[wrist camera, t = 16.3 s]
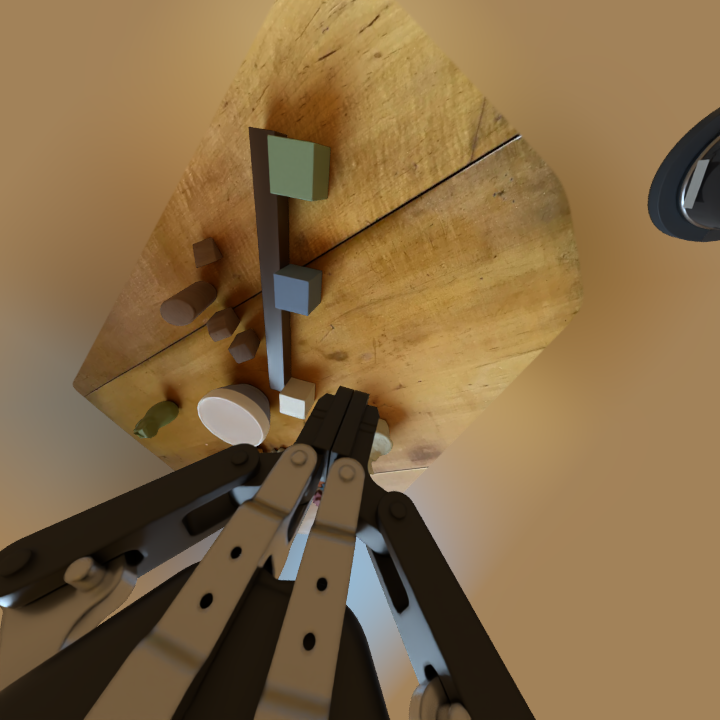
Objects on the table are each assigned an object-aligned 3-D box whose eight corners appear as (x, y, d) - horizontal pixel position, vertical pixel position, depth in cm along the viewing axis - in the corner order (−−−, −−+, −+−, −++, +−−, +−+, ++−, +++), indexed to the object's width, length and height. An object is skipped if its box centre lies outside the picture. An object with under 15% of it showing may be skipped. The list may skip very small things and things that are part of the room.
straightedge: (287, 134, 30) (274, 131, 27) (291, 382, 52) (284, 392, 50) (263, 130, 30) (248, 126, 28) (277, 378, 53) (269, 388, 50)
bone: (319, 432, 59) (304, 464, 53) (339, 393, 50) (324, 427, 44) (371, 457, 60) (363, 492, 54) (401, 423, 51) (395, 460, 45)
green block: (330, 147, 30) (314, 142, 26) (327, 198, 33) (312, 201, 29) (289, 140, 30) (267, 134, 26) (290, 191, 33) (269, 193, 29)
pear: (160, 395, 66) (122, 424, 58) (177, 398, 65) (141, 428, 57) (170, 411, 69) (135, 441, 61) (186, 414, 68) (153, 445, 60)
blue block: (322, 270, 38) (308, 281, 34) (320, 302, 41) (307, 316, 37) (290, 263, 38) (273, 273, 34) (290, 295, 41) (275, 307, 37)
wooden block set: (271, 335, 50) (262, 362, 41) (228, 351, 50) (211, 381, 41) (215, 236, 40) (188, 243, 32) (163, 255, 41) (122, 268, 32)
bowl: (275, 430, 63) (257, 457, 57) (219, 403, 62) (195, 427, 56) (288, 392, 54) (270, 419, 48) (224, 360, 53) (197, 383, 47)
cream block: (315, 383, 51) (304, 401, 47) (314, 401, 54) (304, 419, 50) (291, 377, 51) (279, 393, 47) (291, 395, 54) (280, 412, 50)
